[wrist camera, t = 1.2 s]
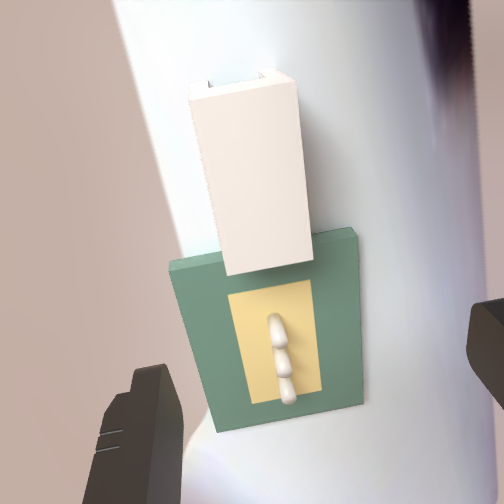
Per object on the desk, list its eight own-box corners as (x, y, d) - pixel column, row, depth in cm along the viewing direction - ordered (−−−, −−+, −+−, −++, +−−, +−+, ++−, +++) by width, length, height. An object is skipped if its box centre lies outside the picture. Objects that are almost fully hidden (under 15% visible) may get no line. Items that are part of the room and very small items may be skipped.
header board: (169, 260, 32) (165, 294, 28) (350, 226, 32) (371, 255, 28) (216, 419, 40) (218, 462, 36) (358, 391, 41) (375, 431, 37)
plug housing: (191, 82, 26) (188, 100, 20) (273, 67, 26) (296, 80, 20) (221, 226, 31) (227, 276, 25) (291, 213, 31) (313, 259, 25)
